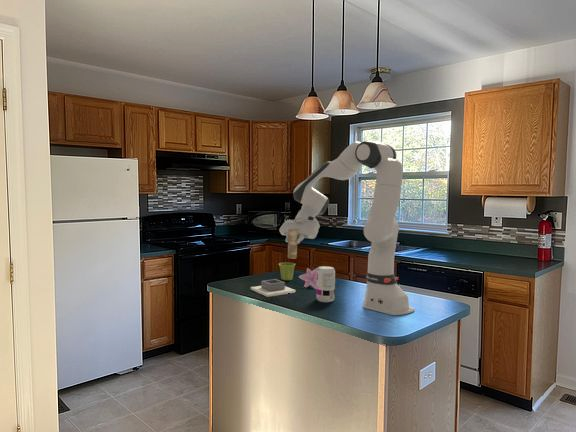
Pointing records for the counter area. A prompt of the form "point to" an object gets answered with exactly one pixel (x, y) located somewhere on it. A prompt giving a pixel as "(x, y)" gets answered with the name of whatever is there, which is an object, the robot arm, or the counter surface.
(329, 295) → the supplement can
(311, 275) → the lily
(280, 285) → the docking plate
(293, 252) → the beech peg
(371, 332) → the counter surface
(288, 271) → the plant pot
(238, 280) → the counter surface
